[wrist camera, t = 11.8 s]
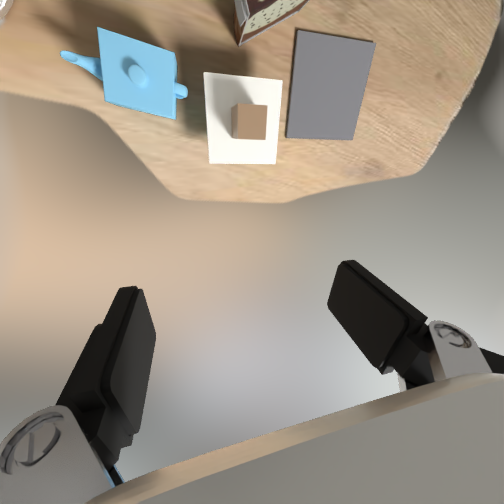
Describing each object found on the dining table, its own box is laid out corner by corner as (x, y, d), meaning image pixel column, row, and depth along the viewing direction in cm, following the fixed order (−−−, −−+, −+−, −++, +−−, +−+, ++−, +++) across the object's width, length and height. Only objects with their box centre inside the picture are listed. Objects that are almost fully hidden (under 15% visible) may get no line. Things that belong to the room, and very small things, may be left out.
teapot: (92, 100, 27) (61, 90, 21) (84, 38, 24) (46, 5, 18) (187, 122, 31) (185, 120, 24) (189, 71, 28) (188, 53, 22)
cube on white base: (203, 73, 25) (205, 60, 20) (280, 81, 27) (297, 71, 23) (209, 162, 30) (211, 168, 25) (273, 163, 32) (286, 168, 28)
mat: (285, 137, 35) (286, 137, 35) (296, 31, 28) (298, 30, 28) (350, 140, 38) (352, 140, 38) (373, 44, 31) (376, 43, 31)
